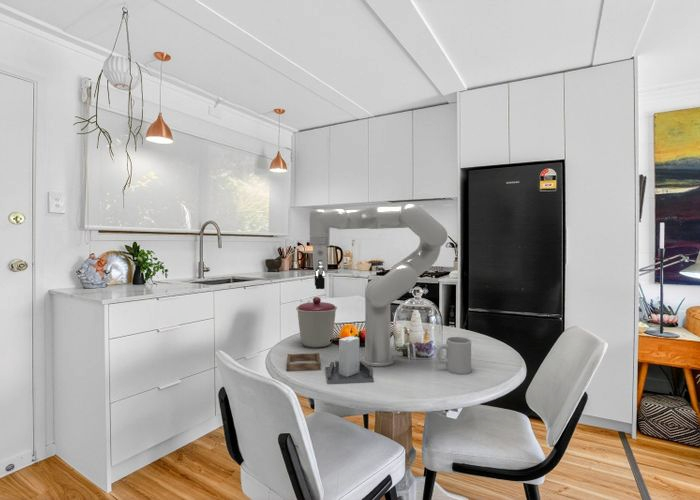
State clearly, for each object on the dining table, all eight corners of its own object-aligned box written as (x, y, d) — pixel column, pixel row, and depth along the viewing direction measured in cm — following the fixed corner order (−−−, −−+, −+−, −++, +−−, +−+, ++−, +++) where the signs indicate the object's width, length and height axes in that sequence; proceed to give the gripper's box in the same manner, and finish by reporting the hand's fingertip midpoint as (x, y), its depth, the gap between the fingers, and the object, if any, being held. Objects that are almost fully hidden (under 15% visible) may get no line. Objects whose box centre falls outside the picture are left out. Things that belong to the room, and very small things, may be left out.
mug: (465, 366, 141) (466, 336, 140) (474, 374, 132) (475, 342, 132) (433, 366, 140) (434, 337, 140) (440, 375, 131) (441, 343, 131)
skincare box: (350, 369, 133) (350, 335, 132) (359, 372, 130) (360, 337, 129) (337, 374, 128) (338, 338, 128) (347, 377, 125) (347, 341, 125)
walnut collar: (319, 359, 148) (319, 353, 148) (320, 370, 136) (320, 363, 136) (287, 360, 146) (287, 354, 146) (286, 371, 134) (286, 364, 134)
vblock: (366, 368, 138) (367, 358, 137) (373, 382, 125) (373, 371, 125) (324, 370, 136) (324, 360, 135) (327, 384, 123) (327, 373, 123)
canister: (296, 339, 177) (296, 294, 176) (335, 338, 178) (335, 293, 178) (295, 351, 159) (295, 300, 158) (338, 350, 161) (338, 300, 160)
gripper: (331, 242, 136) (331, 290, 137) (327, 242, 154) (327, 284, 154) (310, 242, 135) (310, 290, 136) (309, 242, 153) (309, 284, 153)
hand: (319, 287), depth 145 cm, fingers open, 9 cm apart
